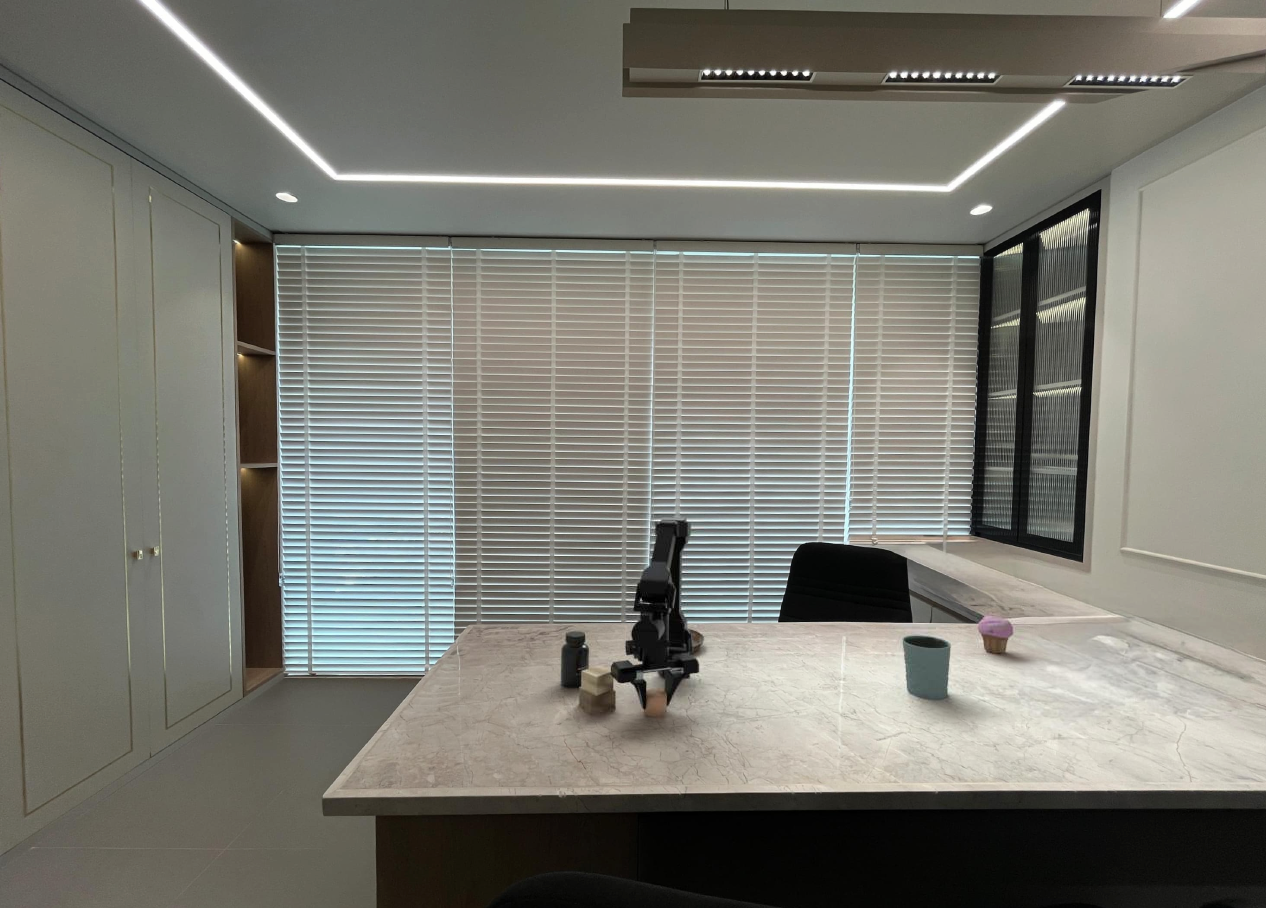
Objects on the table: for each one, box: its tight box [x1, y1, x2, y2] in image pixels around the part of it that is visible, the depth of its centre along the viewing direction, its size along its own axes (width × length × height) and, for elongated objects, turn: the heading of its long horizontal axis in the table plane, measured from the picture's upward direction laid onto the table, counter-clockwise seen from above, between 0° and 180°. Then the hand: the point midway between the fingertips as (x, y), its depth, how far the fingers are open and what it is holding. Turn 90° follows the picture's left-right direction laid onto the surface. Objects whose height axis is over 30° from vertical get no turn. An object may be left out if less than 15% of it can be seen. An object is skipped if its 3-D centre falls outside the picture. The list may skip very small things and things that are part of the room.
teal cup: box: [901, 634, 952, 701], centre depth 139 cm, size 10×10×12 cm
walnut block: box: [578, 687, 617, 715], centre depth 130 cm, size 6×6×4 cm
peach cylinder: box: [643, 688, 668, 718], centre depth 127 cm, size 5×5×4 cm
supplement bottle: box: [560, 630, 590, 689], centre depth 144 cm, size 7×7×12 cm
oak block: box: [581, 665, 615, 695], centre depth 130 cm, size 5×5×4 cm
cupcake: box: [977, 615, 1014, 654], centre depth 169 cm, size 9×9×10 cm
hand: (655, 707), depth 127 cm, fingers closed on peach cylinder, 5 cm apart
